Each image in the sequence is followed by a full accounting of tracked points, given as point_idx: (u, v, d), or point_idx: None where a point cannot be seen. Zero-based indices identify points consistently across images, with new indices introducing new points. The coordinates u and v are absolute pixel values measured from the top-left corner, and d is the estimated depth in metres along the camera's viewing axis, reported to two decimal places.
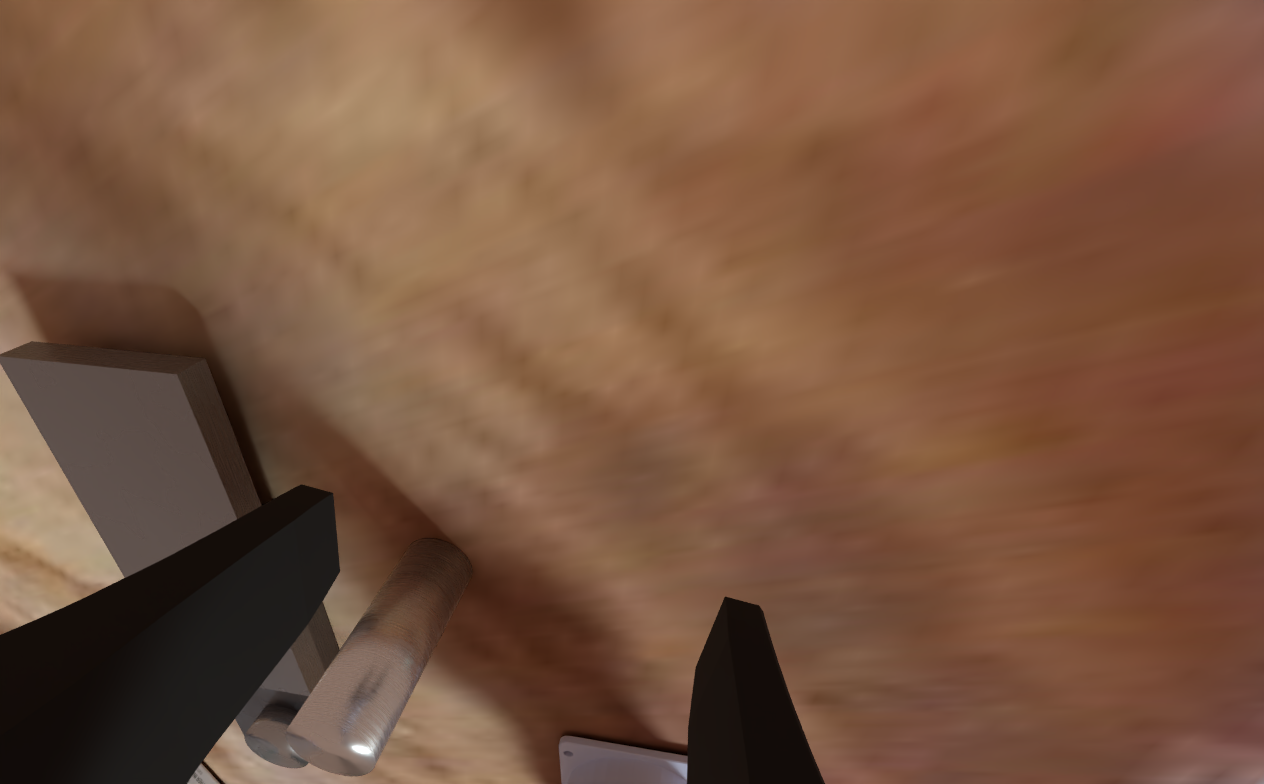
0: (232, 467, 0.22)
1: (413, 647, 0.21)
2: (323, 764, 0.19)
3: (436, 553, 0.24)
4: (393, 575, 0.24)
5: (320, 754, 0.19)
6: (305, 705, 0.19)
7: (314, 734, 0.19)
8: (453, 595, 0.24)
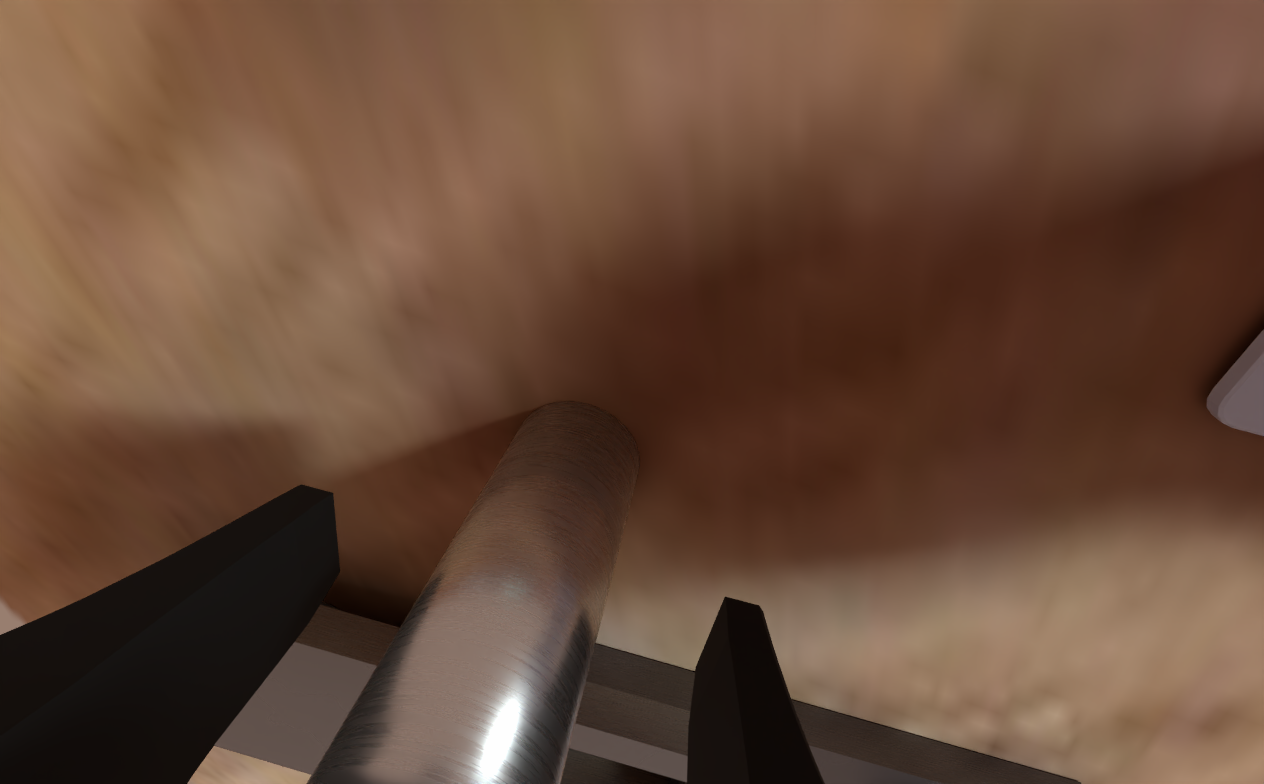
0: (320, 625, 0.16)
1: (472, 549, 0.09)
2: None
3: None
4: None
5: None
6: None
7: None
8: (551, 446, 0.12)
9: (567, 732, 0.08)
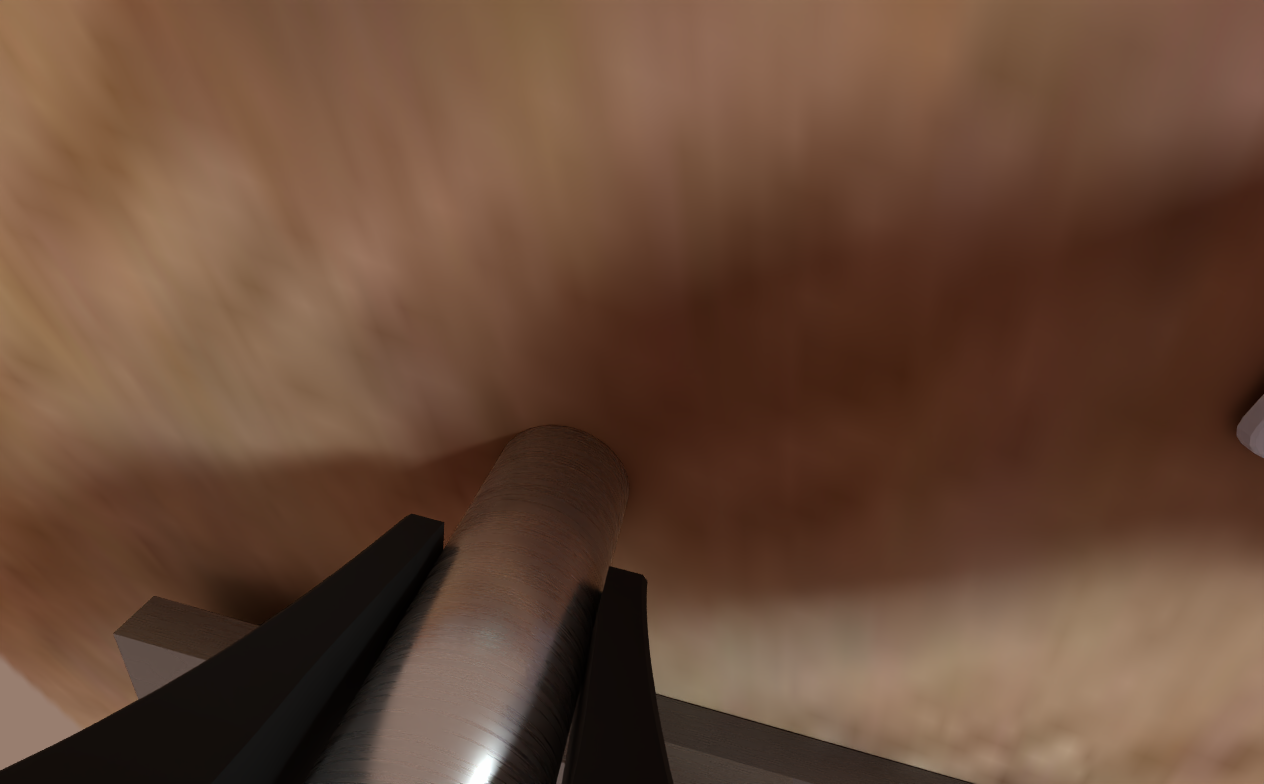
0: None
1: (442, 598, 0.09)
2: None
3: None
4: None
5: None
6: None
7: None
8: (533, 476, 0.11)
9: None
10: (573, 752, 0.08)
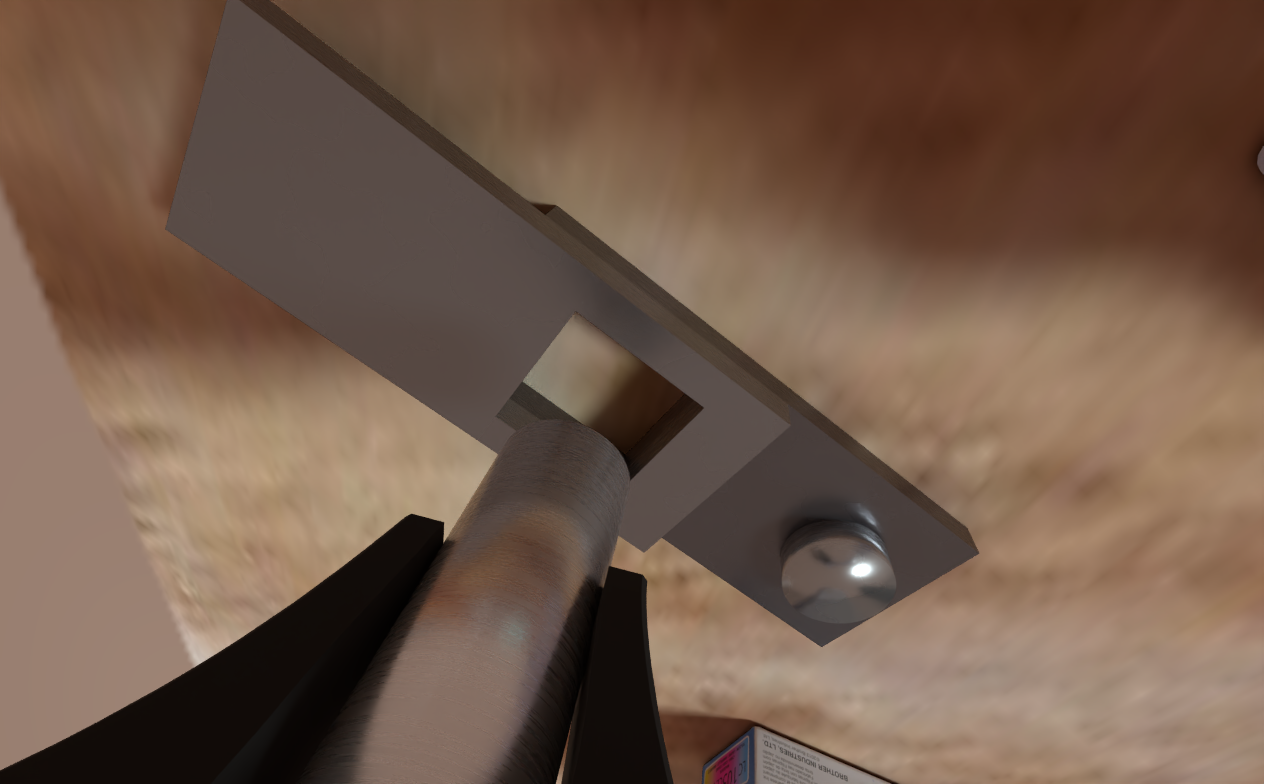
0: (402, 114, 0.15)
1: (444, 586, 0.09)
2: None
3: None
4: None
5: None
6: None
7: None
8: (534, 469, 0.11)
9: None
10: (573, 752, 0.08)
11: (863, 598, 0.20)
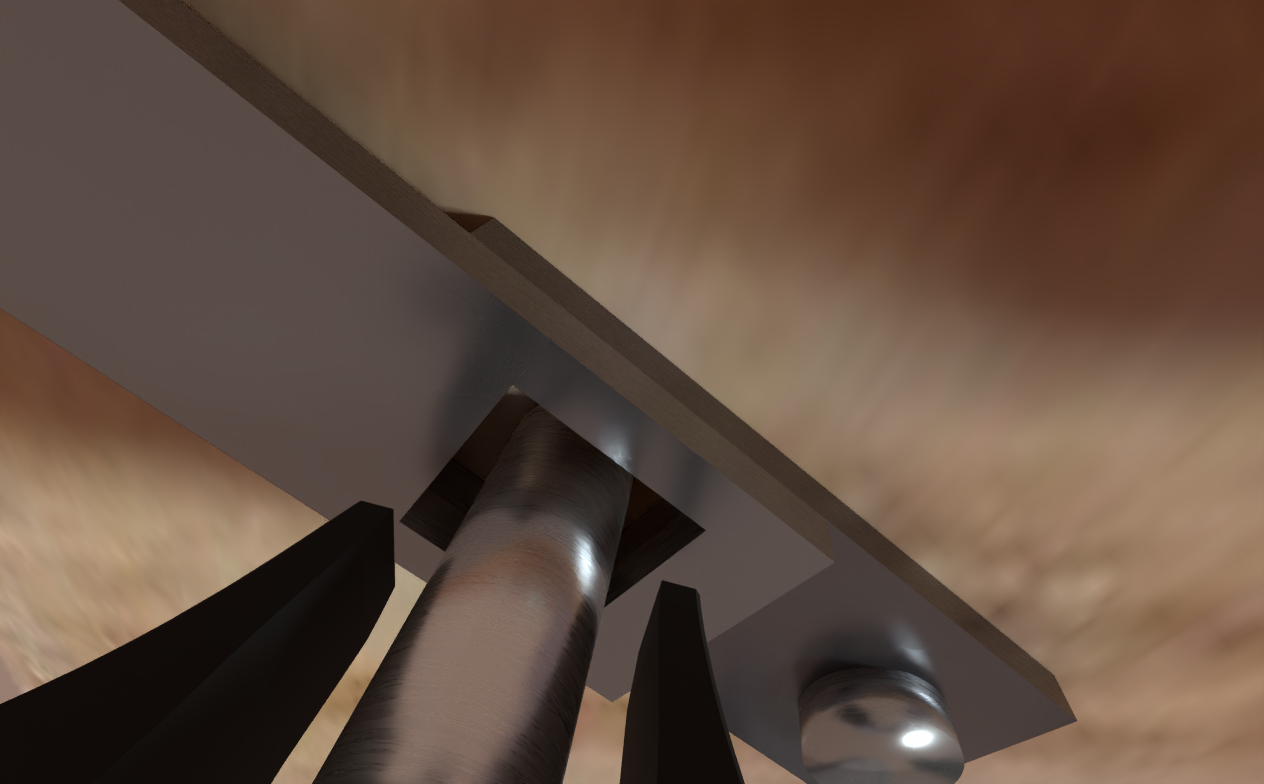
0: (229, 62, 0.09)
1: (471, 550, 0.09)
2: None
3: (508, 442, 0.13)
4: None
5: None
6: None
7: None
8: (549, 445, 0.12)
9: (569, 733, 0.08)
10: (639, 771, 0.08)
11: (915, 778, 0.14)
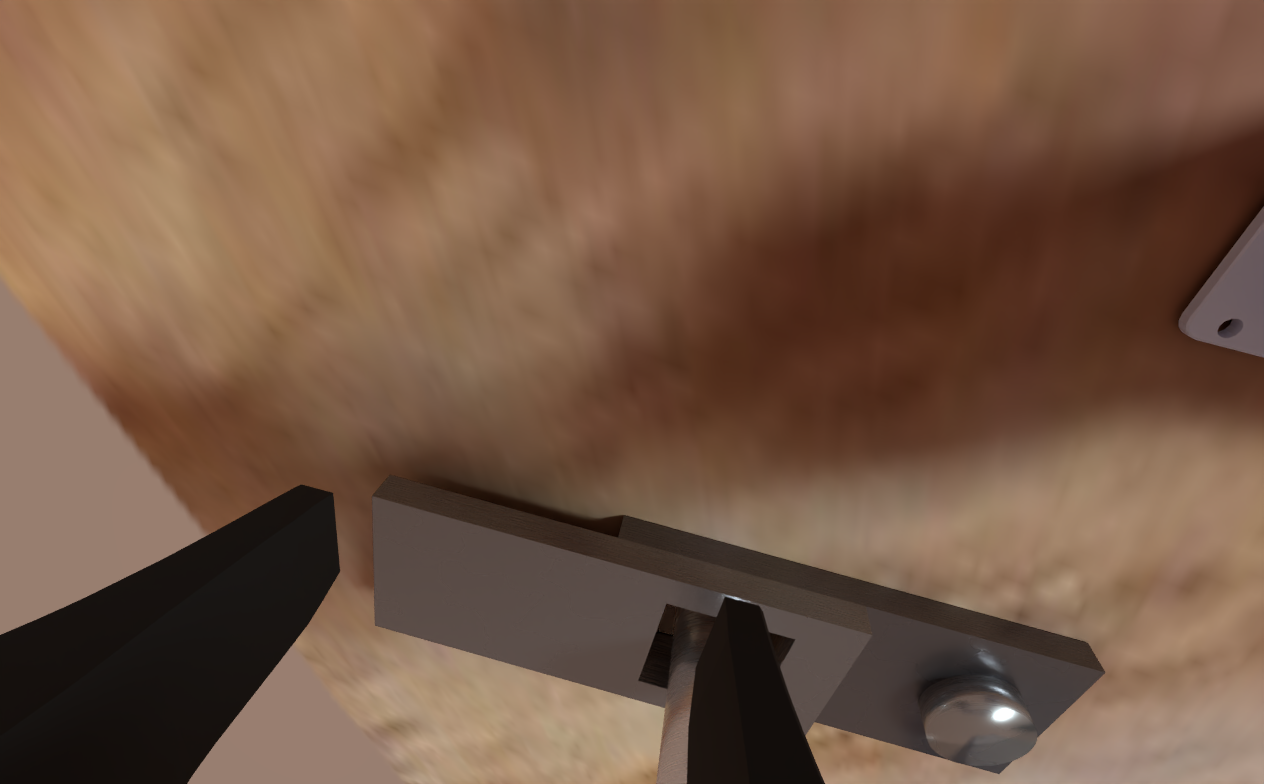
0: (499, 517, 0.21)
1: (678, 693, 0.19)
2: None
3: (676, 615, 0.23)
4: None
5: None
6: None
7: None
8: (696, 617, 0.22)
9: None
10: None
11: (1010, 741, 0.21)
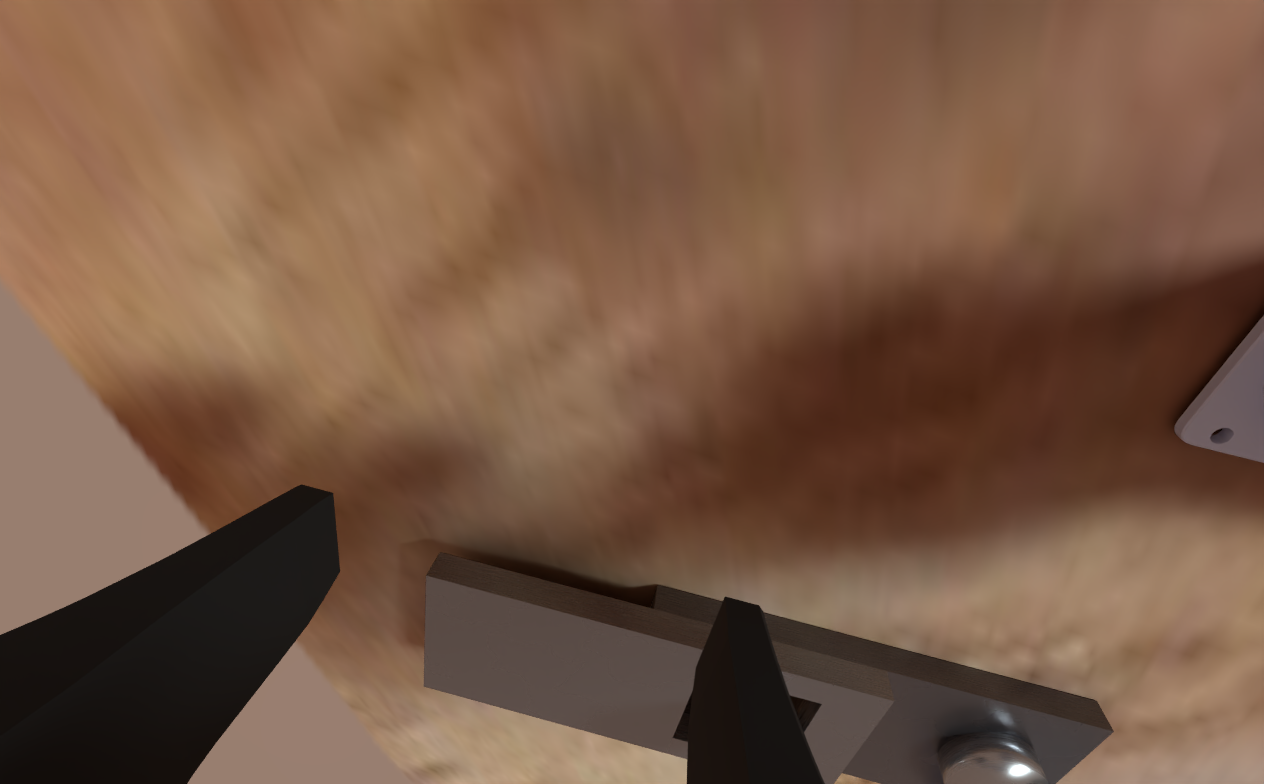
0: (543, 592, 0.22)
1: None
2: None
3: None
4: None
5: None
6: None
7: None
8: None
9: None
10: None
11: None
